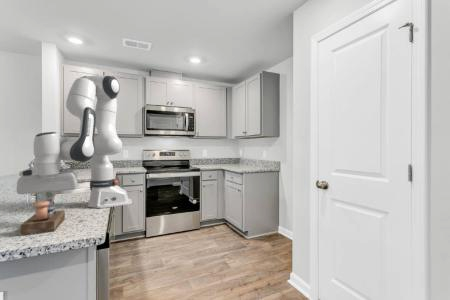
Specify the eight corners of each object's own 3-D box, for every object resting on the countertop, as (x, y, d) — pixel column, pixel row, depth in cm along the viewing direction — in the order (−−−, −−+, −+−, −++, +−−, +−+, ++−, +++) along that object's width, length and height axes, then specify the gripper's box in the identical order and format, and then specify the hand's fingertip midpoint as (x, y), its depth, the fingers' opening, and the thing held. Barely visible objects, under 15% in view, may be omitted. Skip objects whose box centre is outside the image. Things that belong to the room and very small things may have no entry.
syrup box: (45, 205, 122) (45, 179, 122) (54, 205, 121) (54, 179, 120) (35, 208, 116) (35, 180, 116) (44, 208, 115) (43, 181, 115)
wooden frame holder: (64, 219, 98) (64, 210, 98) (54, 231, 84) (54, 221, 84) (36, 222, 94) (36, 212, 94) (20, 235, 80) (20, 224, 80)
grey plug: (56, 219, 96) (56, 205, 96) (53, 222, 91) (53, 207, 91) (43, 220, 94) (43, 206, 94) (39, 224, 89) (38, 209, 89)
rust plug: (51, 215, 88) (50, 200, 88) (47, 219, 84) (47, 203, 84) (36, 217, 86) (36, 201, 86) (31, 221, 82) (31, 204, 82)
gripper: (78, 167, 100) (79, 197, 100) (20, 170, 91) (22, 203, 92) (75, 169, 94) (76, 200, 95) (13, 172, 86) (15, 207, 86)
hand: (49, 202), depth 93 cm, fingers closed
